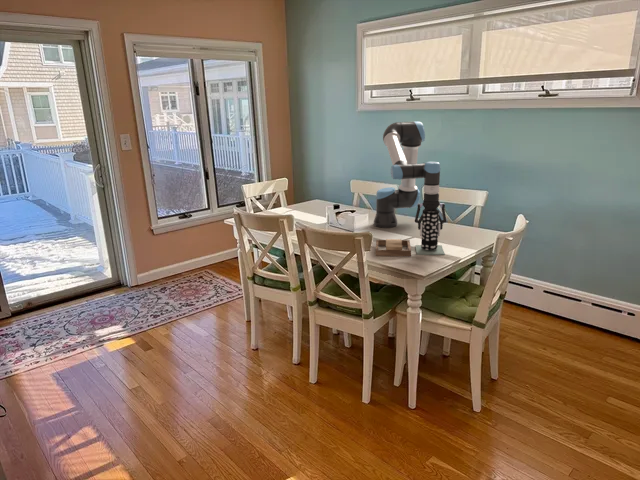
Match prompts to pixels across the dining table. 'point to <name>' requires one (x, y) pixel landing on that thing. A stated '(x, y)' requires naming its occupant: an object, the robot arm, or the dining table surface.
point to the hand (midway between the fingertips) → (429, 235)
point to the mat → (429, 251)
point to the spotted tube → (430, 230)
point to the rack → (393, 252)
